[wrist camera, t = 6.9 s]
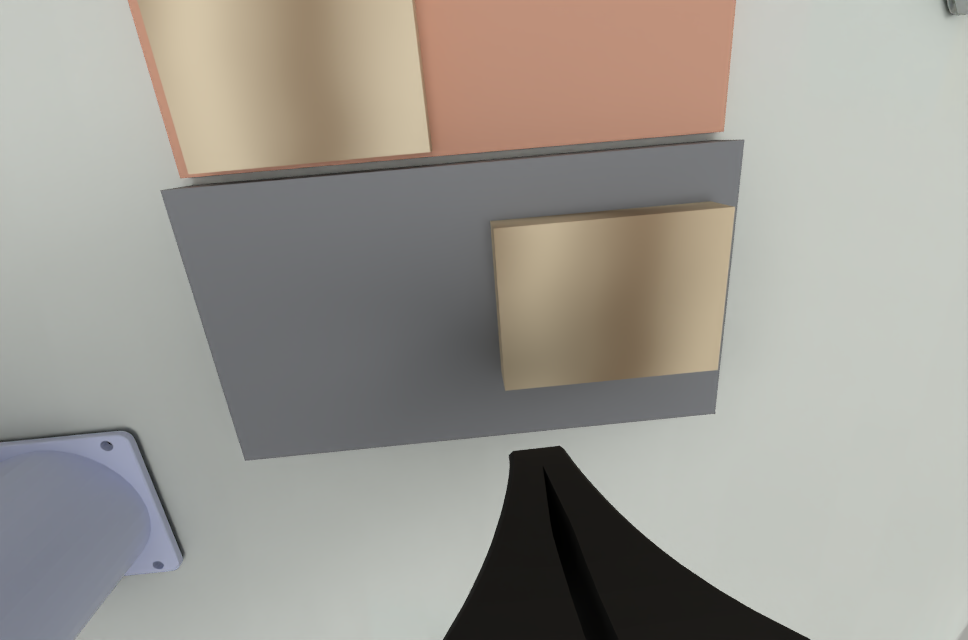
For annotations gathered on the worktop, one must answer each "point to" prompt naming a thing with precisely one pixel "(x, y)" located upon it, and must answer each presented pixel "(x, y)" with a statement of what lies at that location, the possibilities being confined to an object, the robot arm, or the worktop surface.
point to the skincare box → (958, 7)
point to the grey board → (410, 295)
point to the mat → (552, 73)
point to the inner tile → (289, 80)
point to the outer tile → (611, 293)
